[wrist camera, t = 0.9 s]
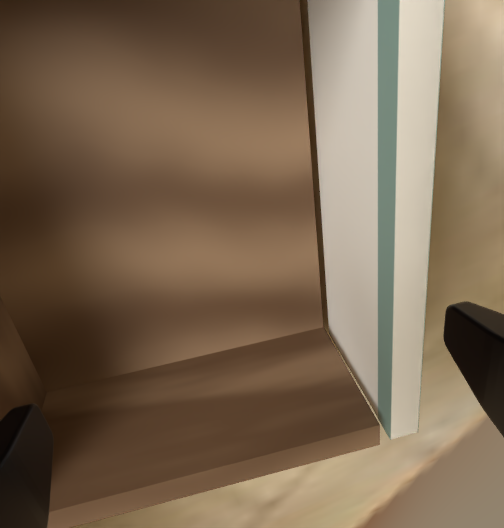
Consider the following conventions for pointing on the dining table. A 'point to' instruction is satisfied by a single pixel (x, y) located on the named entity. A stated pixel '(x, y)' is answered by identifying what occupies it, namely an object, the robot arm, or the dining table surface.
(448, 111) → the dining table surface
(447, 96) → the dining table surface
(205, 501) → the dining table surface
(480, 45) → the dining table surface
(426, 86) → the tailgate
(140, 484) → the crate
